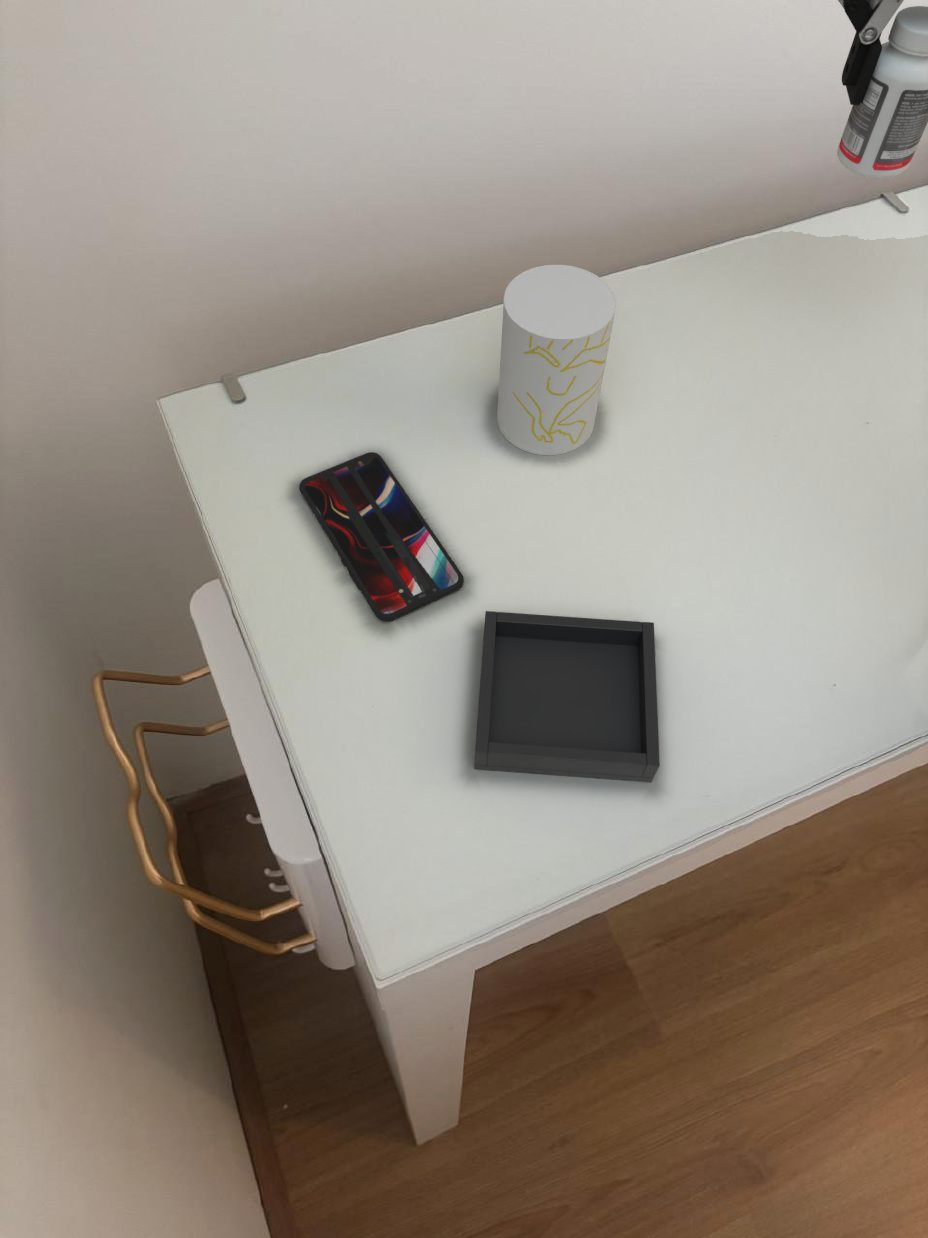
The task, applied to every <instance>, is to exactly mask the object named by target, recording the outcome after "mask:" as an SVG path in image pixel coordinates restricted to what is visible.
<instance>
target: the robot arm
mask: <svg viewBox="0 0 928 1238" xmlns="http://www.w3.org/2000/svg"><path fill="white" fill-rule="evenodd" d="M904 1H905V0H837V2H838V3H839V4H840V5H841V6H842V9H843V10H844V13H845V14H846V16H847V18H848V19H849V22H850V24H851V25H852V27H853V29H854V30H855V34H854V37H853V40H852V42H851V46H850V48H849V51H848V55H847V57H846V60H845V64H844V65H843V69H842V73H841V84H842V86H844V87H845V89H846V92H847V96H848V100H849V104H850V106H853V105H859V104H860V103H862V102H863V100H864V97H865V95H866V92H867V89H868V87H869V84H870V81H871V78H872V76H873V73H874V70H875V68H876V65H877V62H878V59H879V57H880V54H881V51H882V42H881V35H882V34H883V31H884V30H885V28H886V27H887V25H888V24H889V22H890V21H891V20H892V18H893V16H894V15H895V14H896V12H897V11H898V9H899V8H900V6H902V3H904Z"/></svg>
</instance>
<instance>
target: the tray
mask: <svg viewBox="0 0 928 1238" xmlns="http://www.w3.org/2000/svg"><path fill="white" fill-rule="evenodd" d="M483 627H484V628H483V641H482V652H481V666H480V680H479V694H478V705H477V721H476V733H475V747H474V764H473V769H474V770H480V771H494V772H505V773H506V772H507V773H520V774H533V775H545V776H546V775H547V776H558V777H559V776H560V777H572V778H573V777H574V778H586V779H600V780H615V781H627V782H639V783H640V782H641V783H653V780H654V778H655V776H656V774H657V772H658V770H659V769H660V765H661V763H660V741H659V740H660V738H659V716H658V715H659V714H658V689H657V666H656V641H655V639H656V638H655V623H654V622H650V621H649V622H648V621H636V620H635V621H634V620H623V619H622V620H619V619H605V618H591V617H579V616H576V617H575V616H565V615H564V616H563V615H562V616H560V615H548V614H534V613H522V612H521V613H519V612H504V611H490V610H486V611H485V613H484V626H483Z"/></svg>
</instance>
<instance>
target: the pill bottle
mask: <svg viewBox="0 0 928 1238" xmlns="http://www.w3.org/2000/svg"><path fill="white" fill-rule="evenodd" d="M887 37H888V38H887V39H888V41H886V42H884V43H881V45H882V51H881V54H880V57H879V59H878V62H877V65H876V68H875V70H874V73H873V76H872V78H871V81H870V84H869V87H868V89H867V92H866V95H865V97H864V100H863V102H862V103H860V104H859V105H851V109H850V112H849V115H848V118H847V119H846V124H845V126H844V129H843V132H842V135H841V137H840V141H839V143H838V146H837V149H836V155H837V159H838V161H839V162H840V163H841V165H842V166H844V168H846V170H849V171H850V172H851V173H853V174H856V175H859V176H862V177H867V178H871V179H872V178H874V179H885V178H893V177H896V176H897V177H898V176H899V175H900V174H902V173H904V172H905V171H906V170H907V168H908V167H909V166H910V164H911V162H912V160H913V158H914V155H915V153H916V151H917V149H918V146H919V144H920V141H921V139H922V137H923V135H924V132H925V130H926V128H927V126H928V6H924V5H923V6H922V5H915V6H907V7H905V8H902V9H901V10H899V11H898V12H897V13H896V15H895V17H894V20H893V23H892V25H891V28H890V31H889V34H888V36H887Z"/></svg>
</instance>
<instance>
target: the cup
mask: <svg viewBox="0 0 928 1238" xmlns="http://www.w3.org/2000/svg"><path fill="white" fill-rule="evenodd" d="M502 307H503V308H502V310H503V311H502V325H501V340H500V342H501V343H500V346H501V347H500V360H499V376H498V377H499V378H498V393H497V394H498V395H497V398H498V399H497V411H496V412H497V414H496V421H497V422H496V423H497V426H498V428H499V431H500V432H501V434H502V435H503V437H504V438H505V440H507V441H508V443H510V444H511V445H513V446H514V447H516V448H518V449H519V450H522V451H523V452H526V453H530V454H533V455H538V456H558V455H559V456H560V455H563V454H567V453H570V452H572V451H574V450H577V449H579V448H580V447H581V446H583V445H584V444H585V443H586V442H587V441H588V440H589V438H590V437H591V436H592V433H593V432H594V428H595V423H596V416H597V412H598V406H599V400H600V396H601V390H602V385H603V379H604V373H605V368H606V362H607V357H608V351H609V347H610V341H611V335H612V331H613V326H614V325H613V324H614V319H615V313H616V308H617V301H616V296H615V294H614V292H613V290H612V288H611V287H610V285H608V283H606V281H605V280H603V279H602V278H601V277H600V276H598V275H596V274H595V273H593V272H592V271H589V270H588V269H587V270H586V269H584V268H581V267H578V266H573V265H567V264H545V265H539V266H536V267H532V268H529V269H527V270H525V271H523V272H521V273H520V274H517V275H516V276H514V278H513V279H512V280H511V281H510V282H509V283H508V285H507V286H506V288H505V291H504V293H503V305H502Z"/></svg>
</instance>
